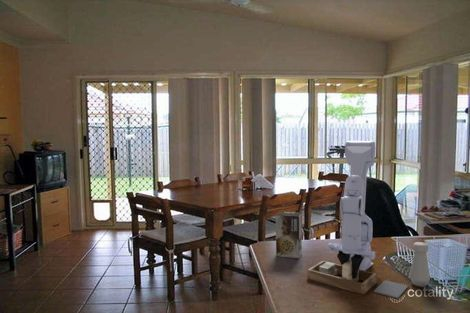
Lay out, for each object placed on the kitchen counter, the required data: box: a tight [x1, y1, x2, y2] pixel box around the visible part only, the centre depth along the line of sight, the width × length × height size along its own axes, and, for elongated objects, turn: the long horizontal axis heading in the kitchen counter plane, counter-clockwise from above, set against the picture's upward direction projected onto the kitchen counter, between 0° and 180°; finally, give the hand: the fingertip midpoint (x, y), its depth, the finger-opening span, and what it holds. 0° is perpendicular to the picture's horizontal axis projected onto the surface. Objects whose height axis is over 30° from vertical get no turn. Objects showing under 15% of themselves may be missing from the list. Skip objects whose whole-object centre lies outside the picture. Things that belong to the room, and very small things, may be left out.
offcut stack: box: [319, 261, 339, 276], centre depth 129 cm, size 7×4×4 cm, turn 141°
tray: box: [306, 260, 378, 295], centre depth 125 cm, size 11×19×3 cm, turn 50°
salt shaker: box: [408, 241, 431, 288], centre depth 121 cm, size 6×6×13 cm
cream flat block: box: [341, 259, 360, 282], centre depth 123 cm, size 8×2×7 cm, turn 140°
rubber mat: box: [373, 279, 409, 300], centre depth 118 cm, size 10×7×1 cm
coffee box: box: [275, 210, 303, 259], centre depth 149 cm, size 9×6×16 cm
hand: (350, 276), depth 123 cm, fingers closed on cream flat block, 2 cm apart
